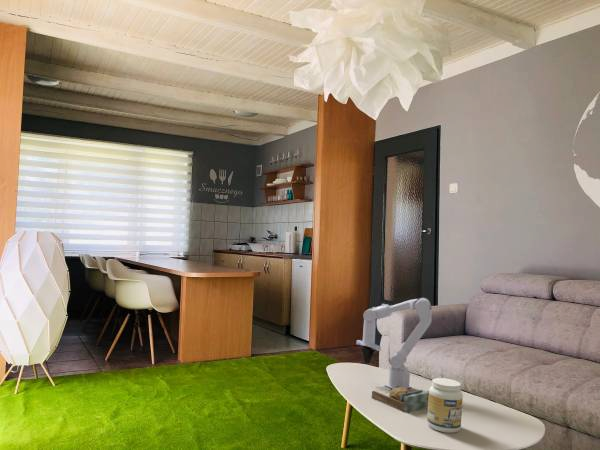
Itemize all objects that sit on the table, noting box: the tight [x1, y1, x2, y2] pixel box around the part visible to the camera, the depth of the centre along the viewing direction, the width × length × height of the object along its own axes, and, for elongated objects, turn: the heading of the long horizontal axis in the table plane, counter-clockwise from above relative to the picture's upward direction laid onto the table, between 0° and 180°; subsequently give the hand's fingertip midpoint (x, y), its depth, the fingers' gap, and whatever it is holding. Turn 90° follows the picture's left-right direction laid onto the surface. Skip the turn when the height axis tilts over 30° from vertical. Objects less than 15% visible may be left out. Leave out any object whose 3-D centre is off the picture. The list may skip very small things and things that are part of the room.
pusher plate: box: [400, 389, 424, 403], centre depth 204 cm, size 13×1×6 cm, turn 127°
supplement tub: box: [426, 377, 464, 434], centre depth 182 cm, size 12×12×17 cm
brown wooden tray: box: [371, 386, 429, 413], centre depth 208 cm, size 16×19×6 cm
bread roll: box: [388, 387, 411, 401], centre depth 208 cm, size 10×10×8 cm
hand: (367, 362), depth 233 cm, fingers closed
